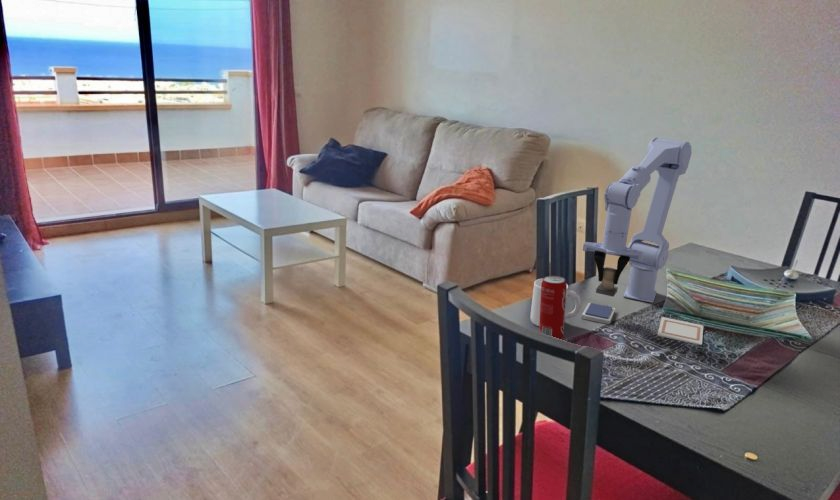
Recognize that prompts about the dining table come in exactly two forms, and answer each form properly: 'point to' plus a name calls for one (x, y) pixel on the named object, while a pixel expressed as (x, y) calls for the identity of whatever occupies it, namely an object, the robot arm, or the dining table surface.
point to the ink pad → (598, 313)
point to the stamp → (607, 282)
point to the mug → (537, 298)
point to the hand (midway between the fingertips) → (608, 281)
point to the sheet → (681, 331)
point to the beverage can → (552, 306)
